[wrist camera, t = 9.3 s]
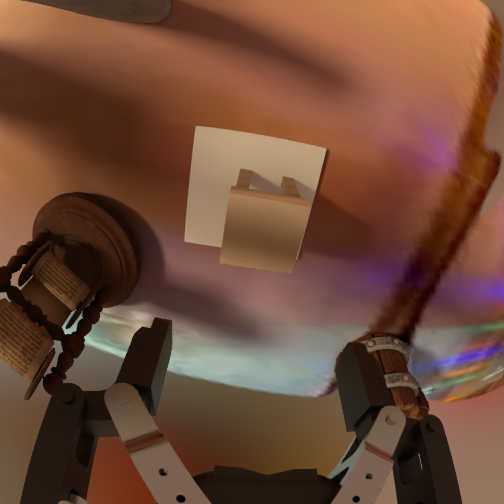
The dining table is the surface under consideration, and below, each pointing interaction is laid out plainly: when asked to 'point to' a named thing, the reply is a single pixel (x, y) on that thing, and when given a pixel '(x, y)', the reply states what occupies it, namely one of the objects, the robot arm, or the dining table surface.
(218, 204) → the mat
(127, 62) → the dining table surface
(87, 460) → the robot arm
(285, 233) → the stool
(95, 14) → the hip flask
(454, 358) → the dining table surface
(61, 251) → the scroll
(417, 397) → the mug
